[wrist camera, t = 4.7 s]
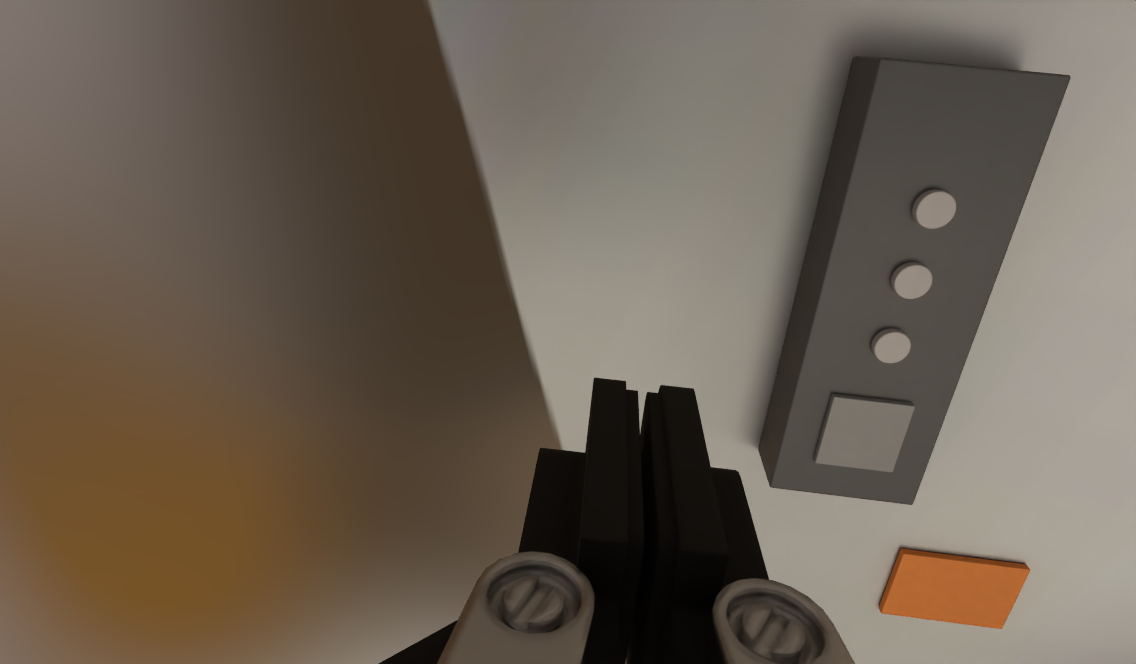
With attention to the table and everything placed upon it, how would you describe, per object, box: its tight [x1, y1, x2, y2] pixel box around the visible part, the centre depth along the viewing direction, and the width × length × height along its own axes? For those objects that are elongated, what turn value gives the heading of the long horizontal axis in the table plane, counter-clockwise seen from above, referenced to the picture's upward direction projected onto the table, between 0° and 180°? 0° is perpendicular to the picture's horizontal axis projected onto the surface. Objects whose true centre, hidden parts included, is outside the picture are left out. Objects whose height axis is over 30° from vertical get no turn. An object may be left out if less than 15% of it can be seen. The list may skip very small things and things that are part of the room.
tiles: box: [879, 549, 1030, 629], centre depth 20 cm, size 26×5×1 cm, turn 175°
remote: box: [759, 56, 1070, 505], centre depth 20 cm, size 13×5×2 cm, turn 175°
